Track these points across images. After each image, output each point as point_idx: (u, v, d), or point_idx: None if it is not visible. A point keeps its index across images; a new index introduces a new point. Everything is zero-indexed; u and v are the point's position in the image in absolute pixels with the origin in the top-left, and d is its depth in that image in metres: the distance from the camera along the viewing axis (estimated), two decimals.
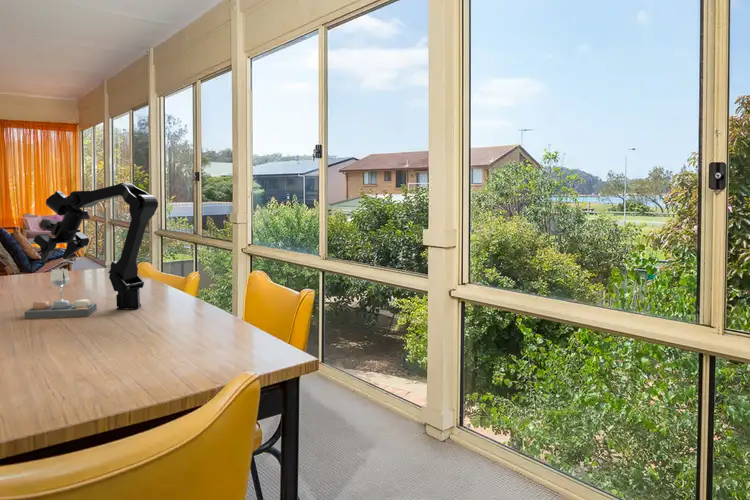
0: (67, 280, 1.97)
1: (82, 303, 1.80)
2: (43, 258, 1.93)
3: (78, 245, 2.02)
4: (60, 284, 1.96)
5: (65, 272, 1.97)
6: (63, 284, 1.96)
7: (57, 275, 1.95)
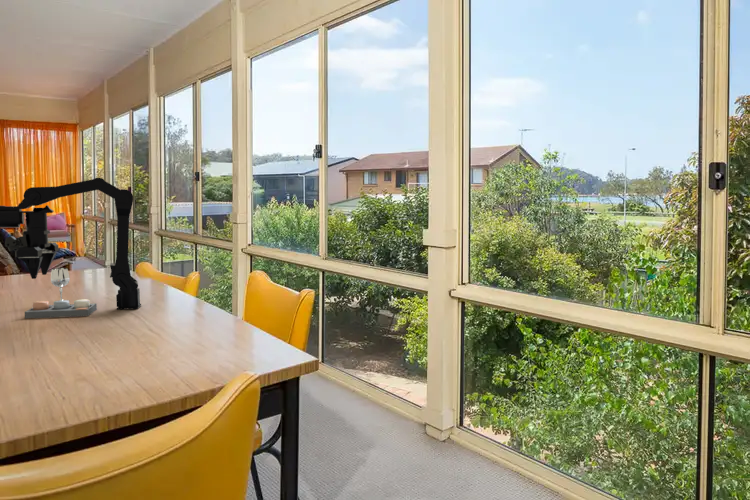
0: (67, 280, 1.97)
1: (82, 303, 1.80)
2: (34, 273, 1.74)
3: (51, 252, 1.84)
4: (60, 284, 1.96)
5: (65, 272, 1.97)
6: (63, 284, 1.96)
7: (57, 275, 1.95)
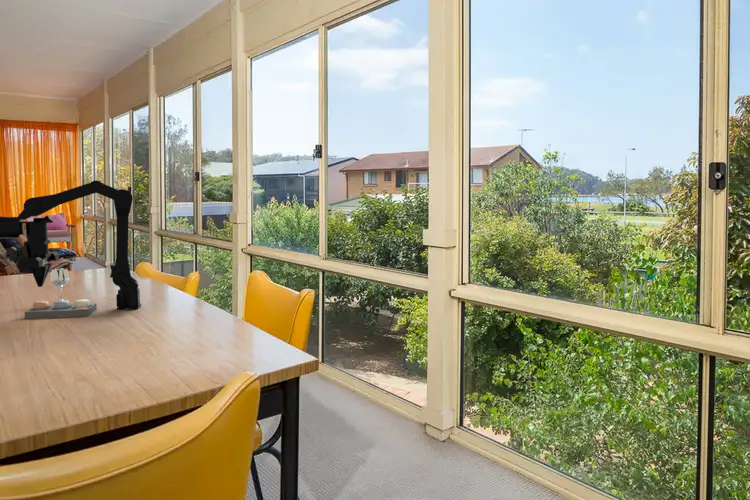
0: (67, 280, 1.97)
1: (82, 303, 1.80)
2: (40, 281, 1.78)
3: (47, 264, 1.80)
4: (60, 284, 1.96)
5: (65, 272, 1.97)
6: (63, 284, 1.96)
7: (57, 275, 1.95)
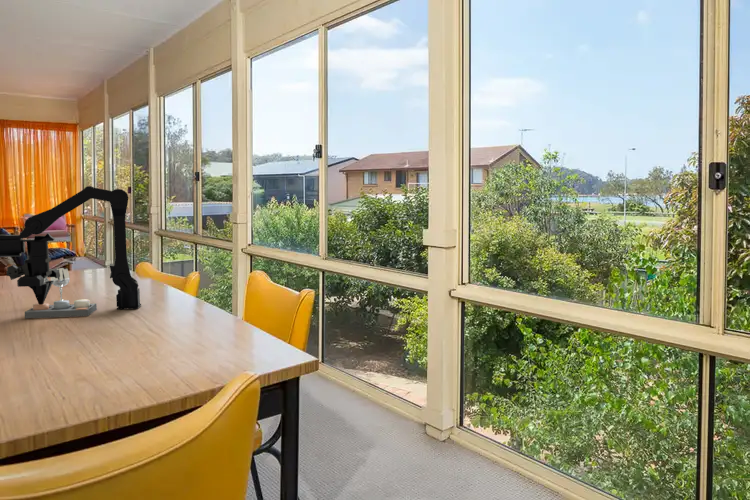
0: (67, 280, 1.97)
1: (82, 303, 1.80)
2: (41, 299, 1.79)
3: (48, 281, 1.81)
4: (60, 284, 1.96)
5: (65, 272, 1.97)
6: (63, 284, 1.96)
7: None
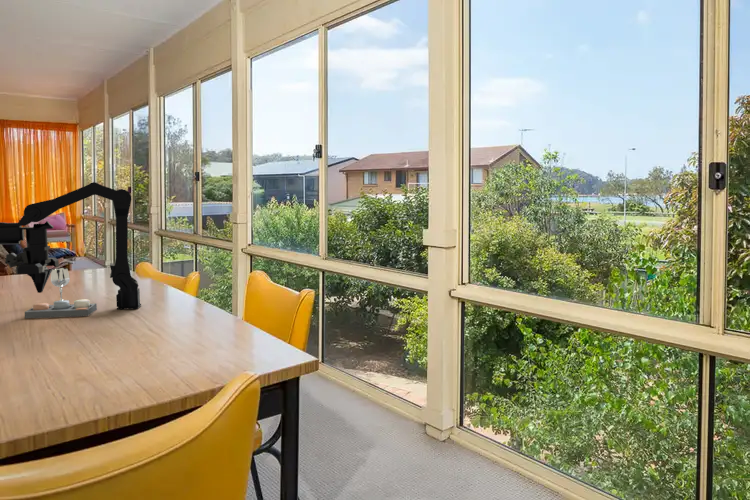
0: (67, 280, 1.97)
1: (82, 303, 1.80)
2: (40, 287, 1.78)
3: (47, 270, 1.80)
4: (60, 284, 1.96)
5: (65, 272, 1.97)
6: (63, 284, 1.96)
7: (57, 275, 1.95)
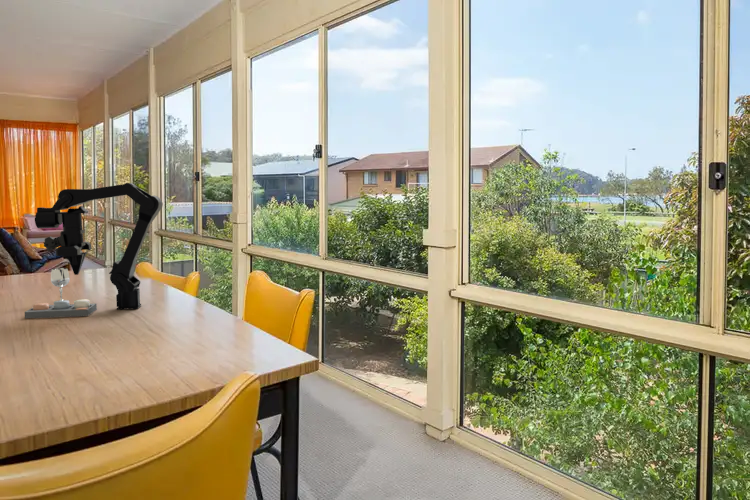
0: (67, 280, 1.97)
1: (82, 303, 1.80)
2: (76, 269, 1.86)
3: (82, 252, 1.88)
4: (60, 284, 1.96)
5: (65, 272, 1.97)
6: (63, 284, 1.96)
7: (57, 275, 1.95)
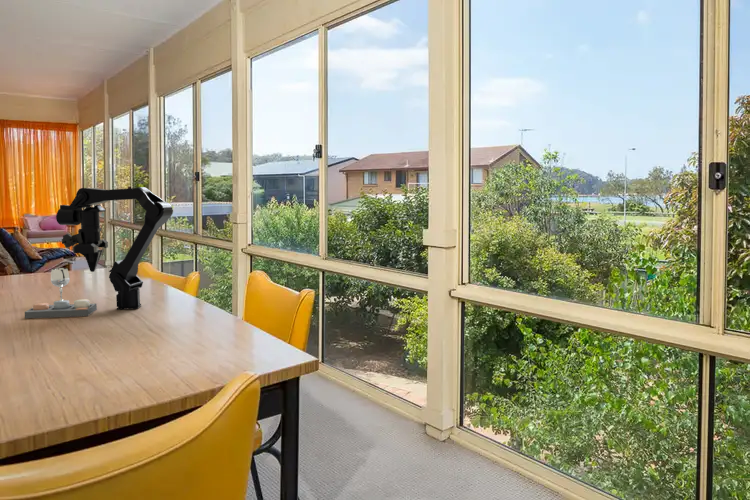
0: (67, 280, 1.97)
1: (82, 303, 1.80)
2: (93, 267, 1.90)
3: (99, 250, 1.92)
4: (60, 284, 1.96)
5: (65, 272, 1.97)
6: (63, 284, 1.96)
7: (57, 275, 1.95)
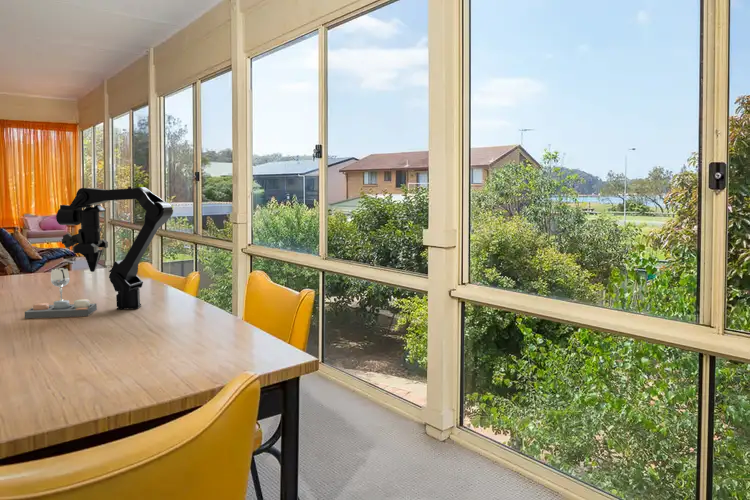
0: (67, 280, 1.97)
1: (82, 303, 1.80)
2: (93, 267, 1.90)
3: (99, 250, 1.92)
4: (60, 284, 1.96)
5: (65, 272, 1.97)
6: (63, 284, 1.96)
7: (57, 275, 1.95)
